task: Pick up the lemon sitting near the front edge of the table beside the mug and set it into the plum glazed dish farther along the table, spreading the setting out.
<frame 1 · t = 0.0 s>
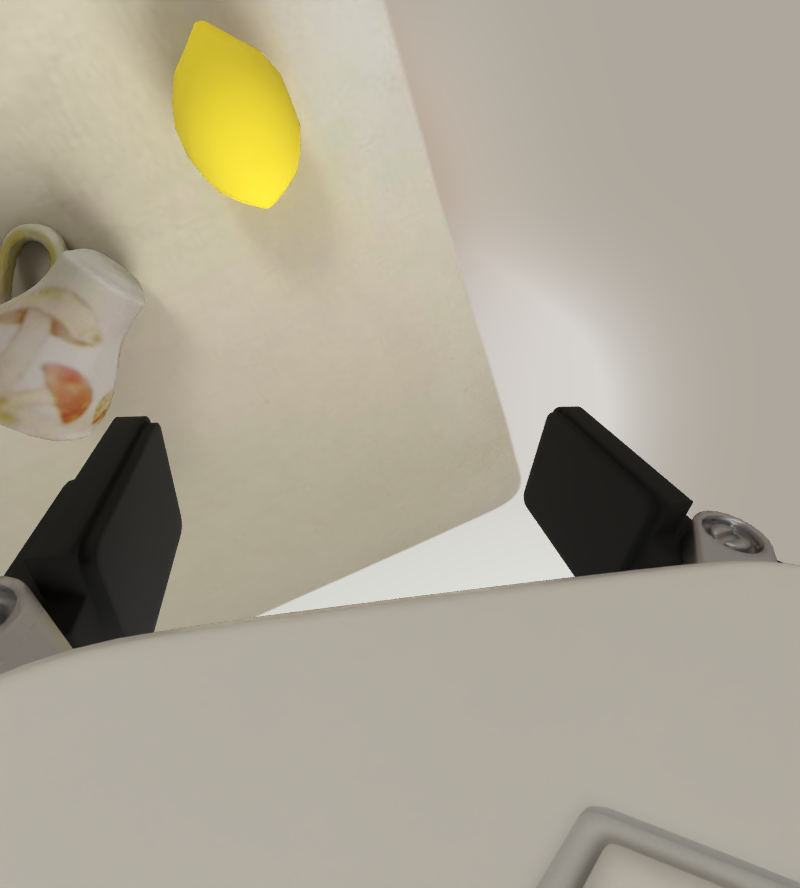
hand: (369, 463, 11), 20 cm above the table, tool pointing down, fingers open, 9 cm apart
lemon: (243, 127, 22), on the table
mug: (77, 317, 25), on the table
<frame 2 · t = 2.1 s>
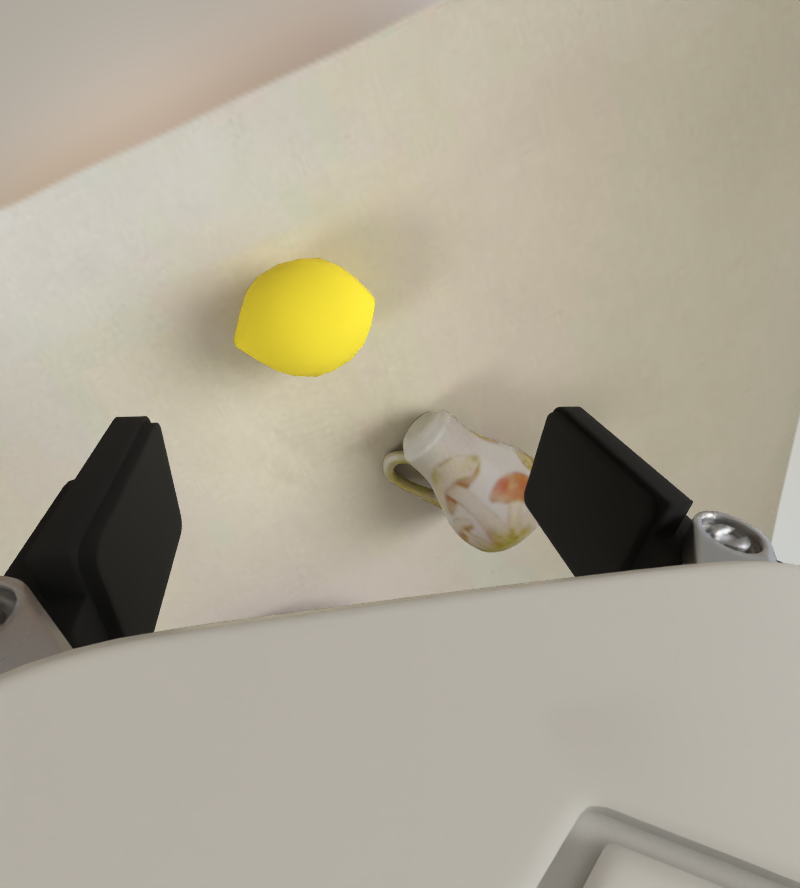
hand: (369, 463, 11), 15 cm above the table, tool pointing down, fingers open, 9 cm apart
lemon: (302, 304, 24), on the table
mug: (450, 451, 31), on the table
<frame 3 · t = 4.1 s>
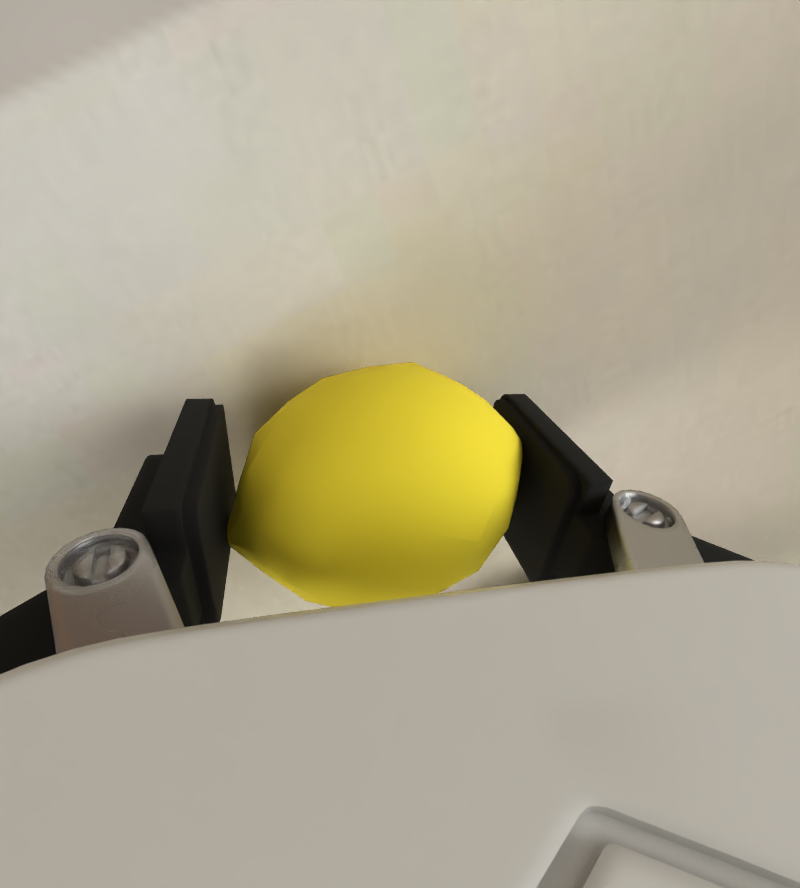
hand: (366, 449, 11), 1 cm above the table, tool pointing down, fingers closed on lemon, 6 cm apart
lemon: (359, 424, 12), on the table, touching gripper
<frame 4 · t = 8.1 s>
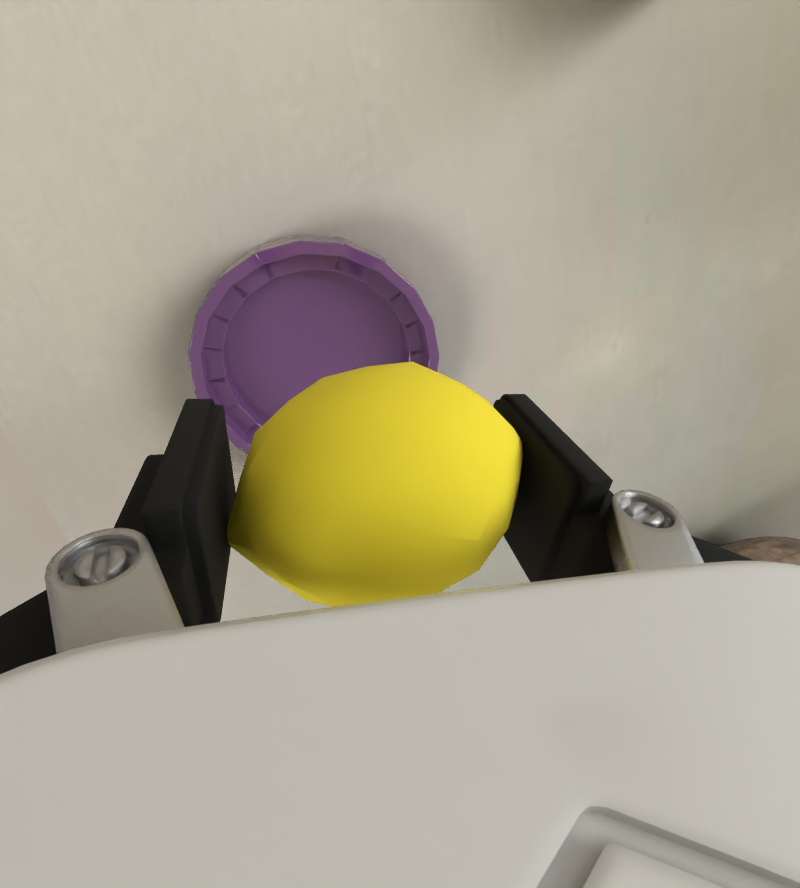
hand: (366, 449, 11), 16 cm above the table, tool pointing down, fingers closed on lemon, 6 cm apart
dish: (318, 356, 26), on the table
cooking pot: (697, 567, 48), on the table
lemon: (359, 423, 12), point 15 cm above the table, touching gripper
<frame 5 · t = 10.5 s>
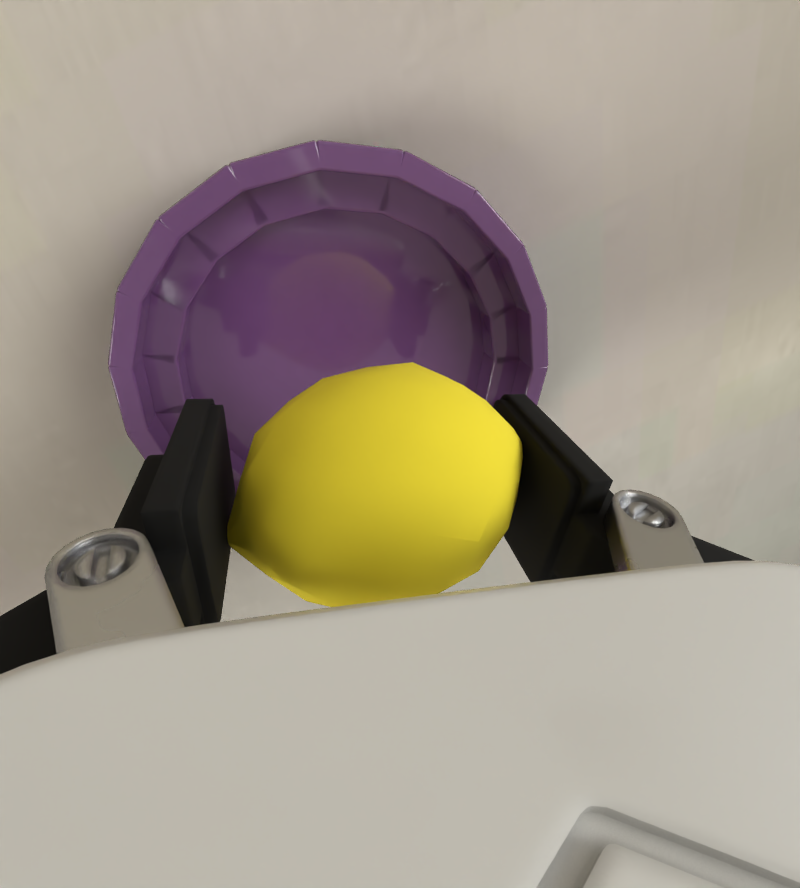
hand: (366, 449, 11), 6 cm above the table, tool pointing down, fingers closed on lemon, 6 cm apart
dish: (343, 365, 16), on the table
lemon: (359, 424, 12), point 4 cm above the table, touching gripper
when the fingers open (2 cm above the table, at t = 12.1 s): lemon stays where it is, resting on dish.
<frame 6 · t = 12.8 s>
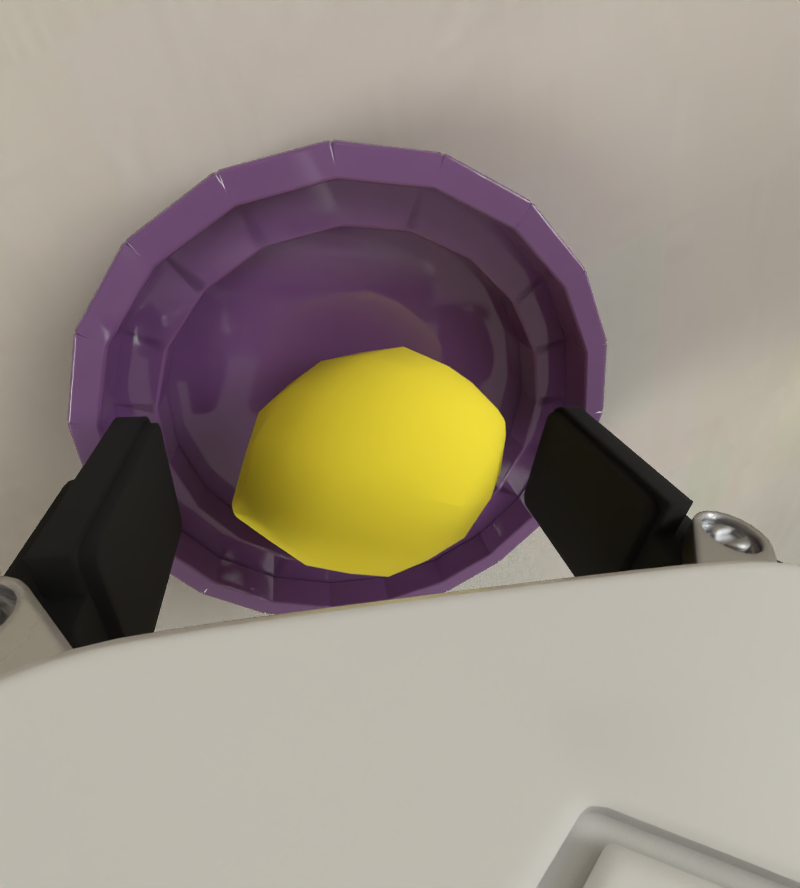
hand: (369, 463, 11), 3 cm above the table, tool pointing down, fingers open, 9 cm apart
dish: (356, 406, 14), on the table
lemon: (356, 408, 13), resting on dish
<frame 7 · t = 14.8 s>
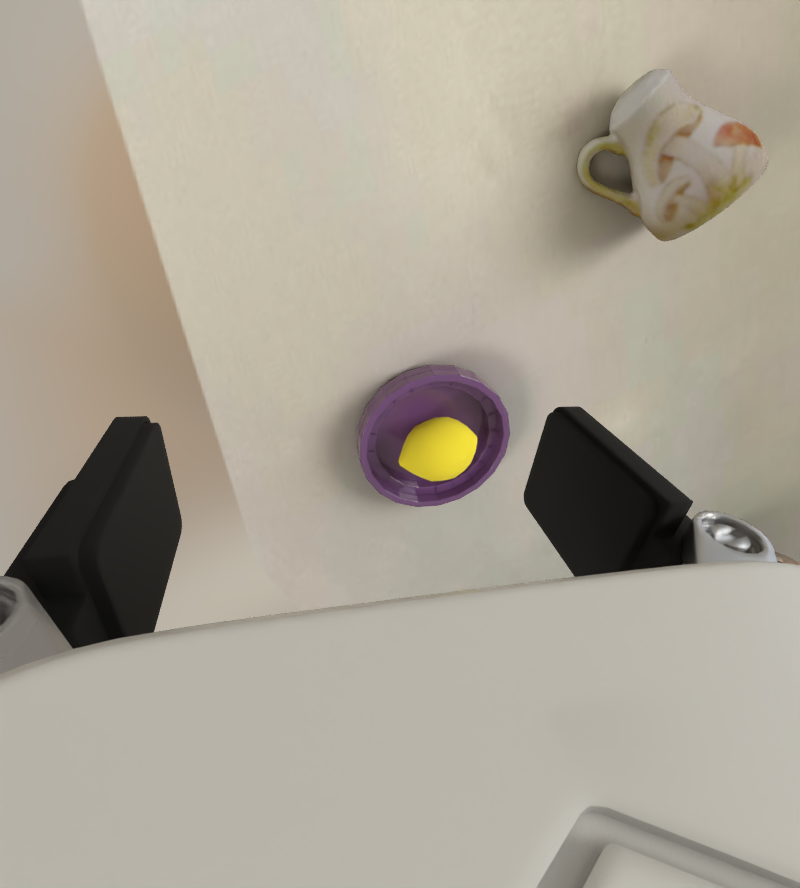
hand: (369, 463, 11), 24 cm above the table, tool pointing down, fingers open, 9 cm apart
dish: (429, 431, 40), on the table
lemon: (429, 432, 40), resting on dish
mug: (638, 157, 31), on the table
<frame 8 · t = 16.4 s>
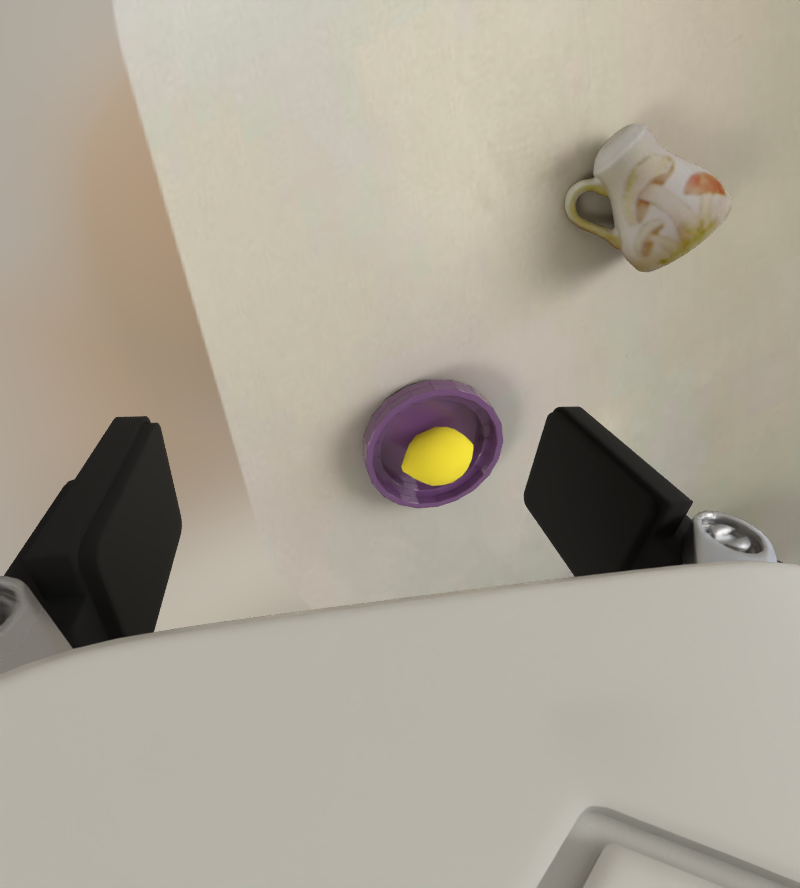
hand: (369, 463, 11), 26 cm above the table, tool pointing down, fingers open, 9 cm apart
dish: (428, 439, 43), on the table
lemon: (429, 440, 43), resting on dish
mug: (619, 195, 35), on the table
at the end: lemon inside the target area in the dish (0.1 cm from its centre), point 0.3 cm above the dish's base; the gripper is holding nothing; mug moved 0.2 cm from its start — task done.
